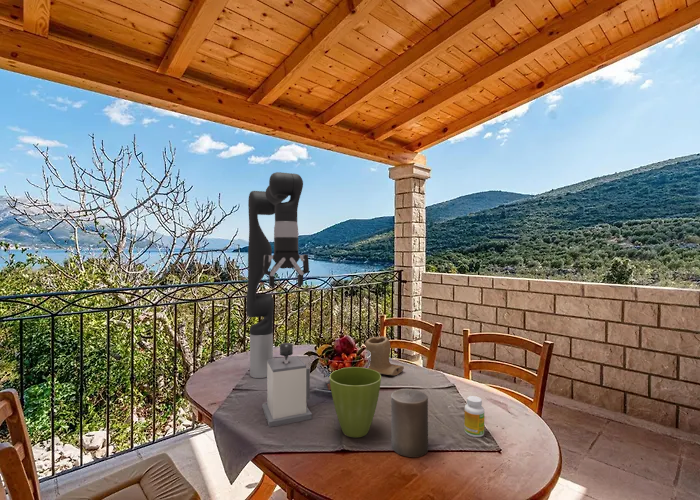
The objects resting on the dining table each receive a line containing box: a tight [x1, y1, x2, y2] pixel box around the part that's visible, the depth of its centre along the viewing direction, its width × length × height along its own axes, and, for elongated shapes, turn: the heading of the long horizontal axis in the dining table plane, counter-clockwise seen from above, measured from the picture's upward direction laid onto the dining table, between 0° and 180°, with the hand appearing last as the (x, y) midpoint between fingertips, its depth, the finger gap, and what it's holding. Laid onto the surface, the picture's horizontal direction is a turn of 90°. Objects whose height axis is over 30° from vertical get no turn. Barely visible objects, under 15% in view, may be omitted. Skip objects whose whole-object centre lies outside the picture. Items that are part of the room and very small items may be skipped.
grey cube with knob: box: [262, 355, 313, 428], centre depth 112 cm, size 13×14×16 cm
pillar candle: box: [390, 388, 429, 458], centre depth 93 cm, size 10×10×15 cm
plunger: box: [279, 342, 294, 364], centre depth 112 cm, size 8×8×19 cm
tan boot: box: [364, 335, 404, 376], centre depth 148 cm, size 15×12×15 cm
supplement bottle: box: [463, 395, 485, 438], centre depth 101 cm, size 5×5×10 cm
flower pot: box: [328, 366, 382, 438], centre depth 102 cm, size 15×15×16 cm
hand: (286, 287), depth 112 cm, fingers open, 8 cm apart
